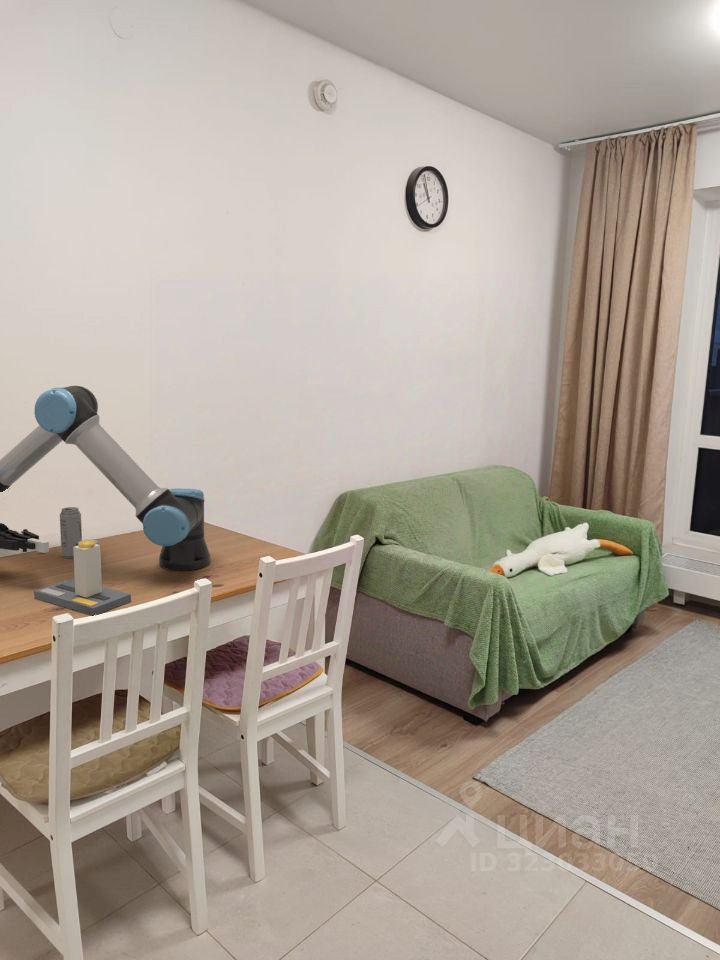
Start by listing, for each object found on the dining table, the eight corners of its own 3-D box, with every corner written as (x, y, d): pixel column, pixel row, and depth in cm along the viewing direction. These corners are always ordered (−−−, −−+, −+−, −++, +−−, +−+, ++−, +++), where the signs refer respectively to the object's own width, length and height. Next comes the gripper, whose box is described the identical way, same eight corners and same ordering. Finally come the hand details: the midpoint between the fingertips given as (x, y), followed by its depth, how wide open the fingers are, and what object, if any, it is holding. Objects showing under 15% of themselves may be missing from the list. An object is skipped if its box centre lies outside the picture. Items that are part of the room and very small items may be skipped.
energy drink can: (82, 558, 221) (80, 510, 218) (61, 559, 219) (58, 511, 216) (82, 552, 227) (81, 506, 224) (62, 554, 225) (59, 507, 222)
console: (34, 598, 187) (33, 590, 187) (72, 585, 198) (72, 577, 197) (93, 616, 177) (93, 607, 176) (131, 601, 187) (130, 593, 187)
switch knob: (75, 594, 184) (73, 543, 182) (91, 588, 189) (89, 538, 186) (86, 597, 183) (84, 545, 180) (101, 591, 187) (100, 541, 184)
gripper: (11, 542, 208) (67, 554, 197) (-32, 553, 197) (25, 567, 186) (9, 516, 207) (65, 528, 196) (-34, 526, 196) (23, 539, 185)
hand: (46, 547), depth 191 cm, fingers closed
